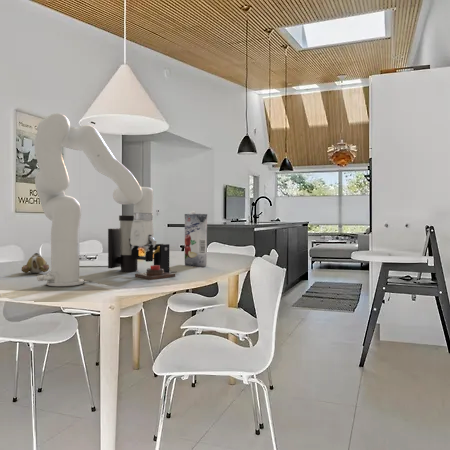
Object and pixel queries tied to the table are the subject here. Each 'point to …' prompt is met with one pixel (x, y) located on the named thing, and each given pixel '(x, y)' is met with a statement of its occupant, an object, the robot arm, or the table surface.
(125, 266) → the light fixture
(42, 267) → the ceramic sculpture
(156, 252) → the switch lever
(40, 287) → the table surface
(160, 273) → the button block
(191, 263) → the juice carton
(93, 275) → the table surface
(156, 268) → the button
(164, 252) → the switch bracket
